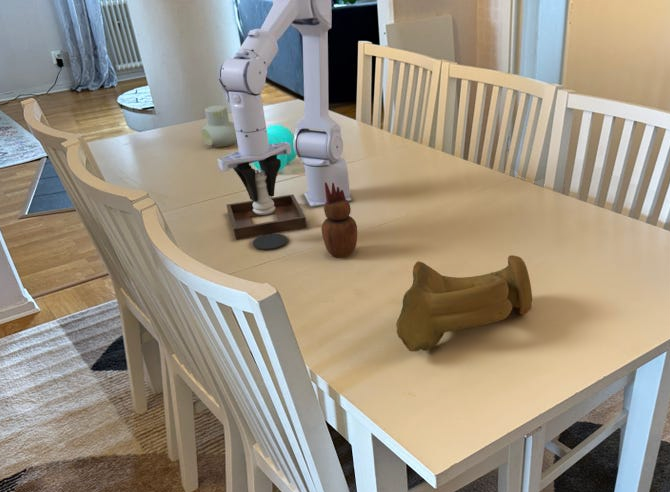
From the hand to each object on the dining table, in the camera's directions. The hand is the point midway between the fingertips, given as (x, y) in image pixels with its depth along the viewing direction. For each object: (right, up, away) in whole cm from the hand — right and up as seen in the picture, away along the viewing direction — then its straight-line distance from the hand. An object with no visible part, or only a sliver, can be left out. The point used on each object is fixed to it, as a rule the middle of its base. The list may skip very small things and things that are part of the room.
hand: (262, 197), depth 135 cm
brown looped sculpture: (+38, -27, -24) cm, 52 cm away
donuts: (-6, +17, +41) cm, 45 cm away
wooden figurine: (+16, -11, 0) cm, 19 cm away
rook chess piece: (0, -2, +2) cm, 3 cm away
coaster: (+1, -8, +5) cm, 9 cm away
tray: (-2, -2, +14) cm, 14 cm away
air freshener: (-24, +29, +58) cm, 69 cm away
